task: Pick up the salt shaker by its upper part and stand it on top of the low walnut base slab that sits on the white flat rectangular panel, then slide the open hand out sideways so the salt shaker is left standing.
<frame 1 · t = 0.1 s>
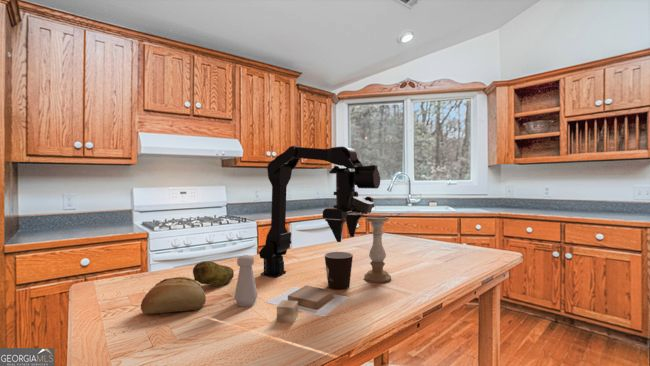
hand: (345, 239, 96), 15 cm above the table, tool pointing down, fingers open, 9 cm apart
bread roll: (174, 311, 80), on the table
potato: (214, 285, 99), on the table
walnut base block: (311, 300, 84), resting on white flat rectangular panel
coffee mug: (339, 286, 97), on the table
maple block: (287, 320, 73), on the table
candle holder: (377, 279, 103), on the table
salt shaker: (246, 305, 83), on the table
white flat rectangular panel: (308, 301, 85), on the table
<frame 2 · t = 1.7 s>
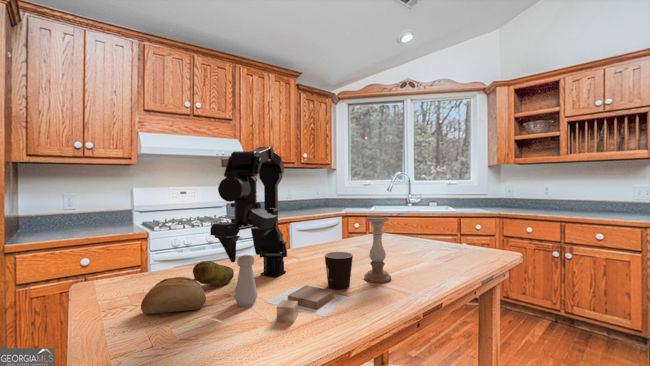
hand: (246, 258, 83), 12 cm above the table, tool pointing down, fingers open, 9 cm apart
nothing on the table moved.
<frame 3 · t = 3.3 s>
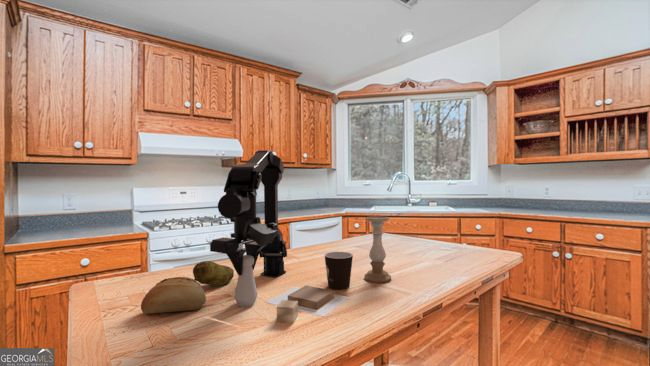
hand: (245, 272, 83), 9 cm above the table, tool pointing down, fingers closed on salt shaker, 4 cm apart
salt shaker: (246, 305, 83), on the table, touching gripper
everything else where it was.
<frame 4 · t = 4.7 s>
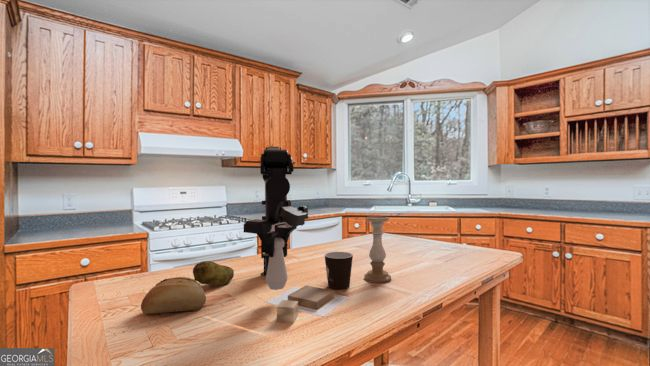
hand: (276, 255, 83), 13 cm above the table, tool pointing down, fingers closed on salt shaker, 4 cm apart
salt shaker: (276, 287, 83), point 4 cm above the table, touching gripper
everything else where it was.
when the fingers open (12 cm above the table, at t = 6.4 s): salt shaker stays where it is, resting on walnut base block.
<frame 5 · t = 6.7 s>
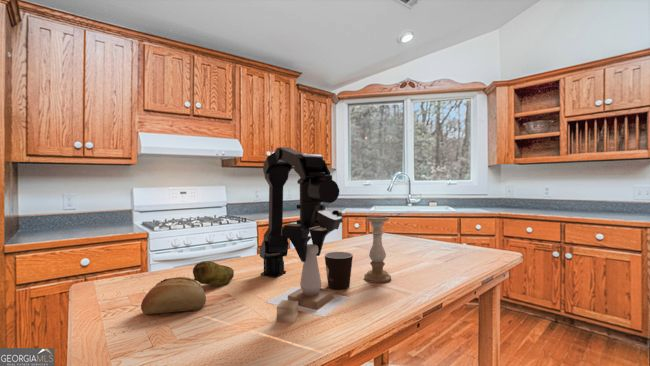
hand: (310, 258, 84), 12 cm above the table, tool pointing down, fingers open, 7 cm apart
walnut base block: (311, 300, 84), resting on white flat rectangular panel, touching salt shaker
salt shaker: (310, 293, 84), point 2 cm above the table, touching walnut base block
everything else where it was.
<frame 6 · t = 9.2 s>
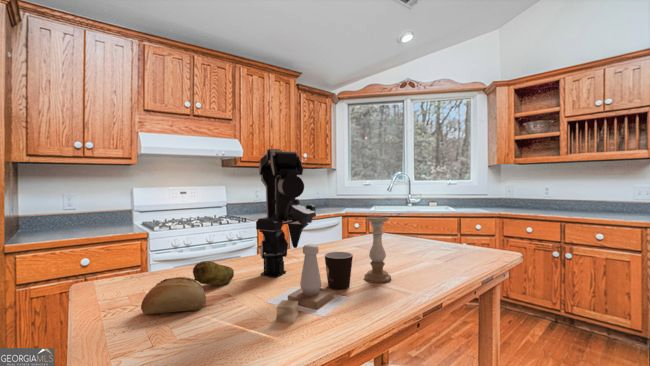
hand: (285, 251, 89), 13 cm above the table, tool pointing down, fingers open, 9 cm apart
nothing on the table moved.
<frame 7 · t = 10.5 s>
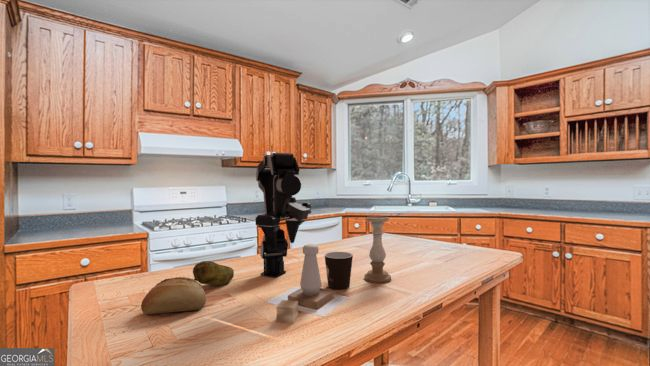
hand: (283, 245, 95), 13 cm above the table, tool pointing down, fingers open, 9 cm apart
nothing on the table moved.
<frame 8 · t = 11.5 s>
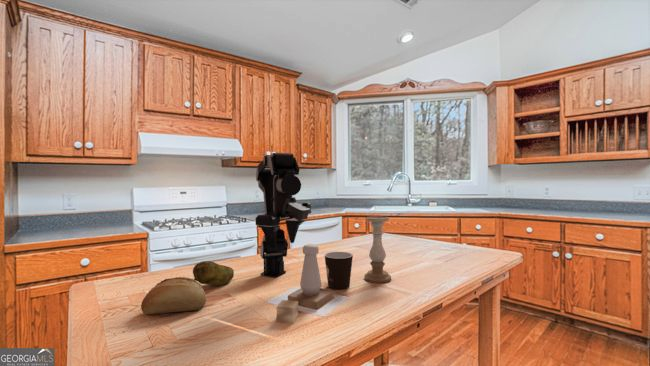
hand: (283, 245, 95), 13 cm above the table, tool pointing down, fingers open, 9 cm apart
nothing on the table moved.
at the end: salt shaker 0.1 cm off-centre on the walnut base block, point 1.8 cm above the walnut base block's base; salt shaker tilted 0°; the gripper is holding nothing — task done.
